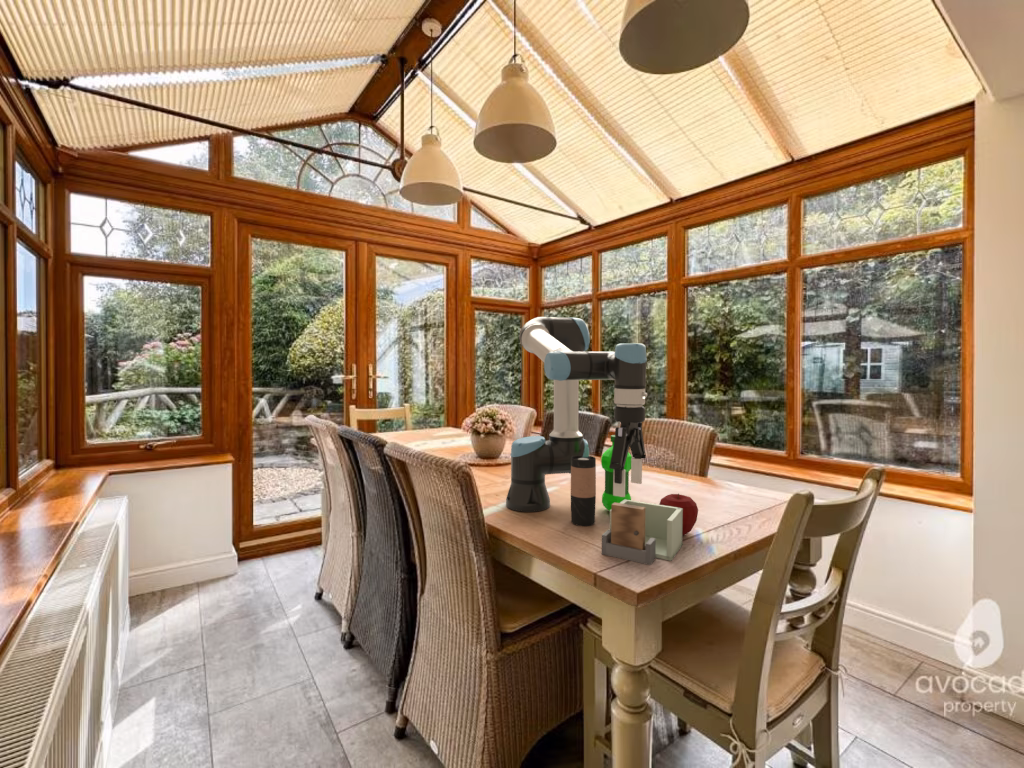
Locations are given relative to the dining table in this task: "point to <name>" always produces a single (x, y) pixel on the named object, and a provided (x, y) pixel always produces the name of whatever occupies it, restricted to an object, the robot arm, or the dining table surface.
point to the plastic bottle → (608, 493)
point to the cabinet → (651, 535)
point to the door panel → (628, 525)
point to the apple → (688, 509)
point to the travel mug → (583, 490)
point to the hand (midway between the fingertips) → (628, 489)
